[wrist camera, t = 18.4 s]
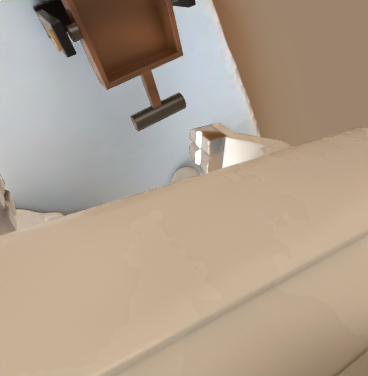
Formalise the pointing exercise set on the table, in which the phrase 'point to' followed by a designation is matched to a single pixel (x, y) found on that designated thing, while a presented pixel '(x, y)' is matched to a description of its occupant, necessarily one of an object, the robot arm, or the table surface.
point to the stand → (69, 22)
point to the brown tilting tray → (129, 46)
